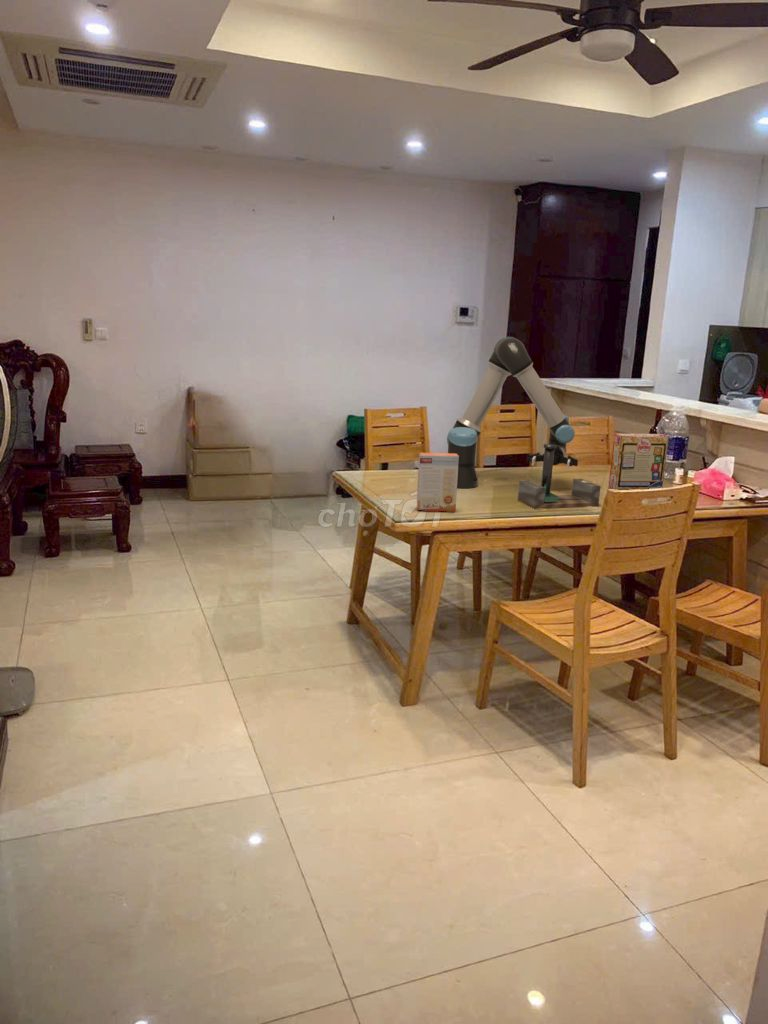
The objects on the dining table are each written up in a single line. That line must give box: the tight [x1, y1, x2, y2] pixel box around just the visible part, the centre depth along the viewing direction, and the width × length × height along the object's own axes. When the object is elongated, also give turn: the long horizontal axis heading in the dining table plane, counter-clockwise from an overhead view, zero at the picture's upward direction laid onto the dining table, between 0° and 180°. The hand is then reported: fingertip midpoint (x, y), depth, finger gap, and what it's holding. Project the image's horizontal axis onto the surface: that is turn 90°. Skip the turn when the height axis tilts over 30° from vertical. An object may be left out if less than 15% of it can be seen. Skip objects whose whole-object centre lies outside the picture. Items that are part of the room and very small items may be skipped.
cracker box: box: [416, 452, 459, 513], centre depth 275 cm, size 14×6×21 cm, turn 92°
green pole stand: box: [540, 443, 559, 502], centre depth 290 cm, size 6×10×21 cm, turn 18°
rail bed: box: [517, 478, 601, 510], centre depth 294 cm, size 28×13×8 cm, turn 108°
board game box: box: [607, 433, 670, 490], centre depth 301 cm, size 20×6×27 cm, turn 98°
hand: (550, 463), depth 299 cm, fingers open, 13 cm apart
